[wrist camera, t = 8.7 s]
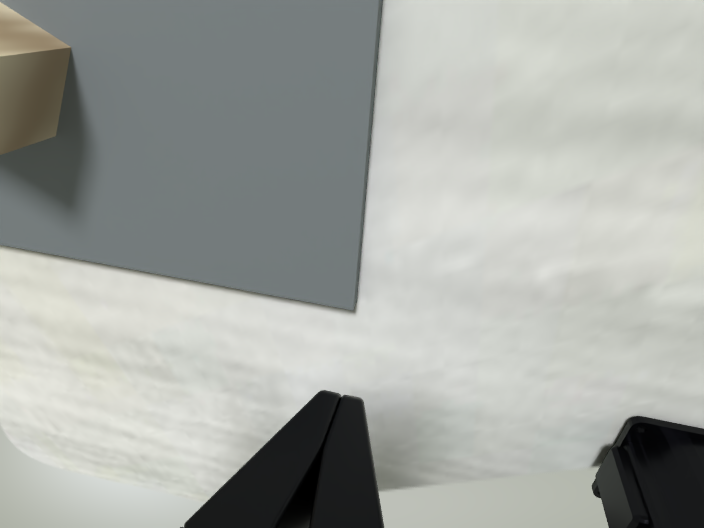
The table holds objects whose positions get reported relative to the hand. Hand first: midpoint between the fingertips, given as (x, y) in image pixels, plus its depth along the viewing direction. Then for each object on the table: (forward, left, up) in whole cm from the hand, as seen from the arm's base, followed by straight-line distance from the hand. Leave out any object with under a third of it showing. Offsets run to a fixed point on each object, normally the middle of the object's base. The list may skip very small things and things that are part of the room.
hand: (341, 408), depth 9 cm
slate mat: (+13, -1, -13) cm, 19 cm away
